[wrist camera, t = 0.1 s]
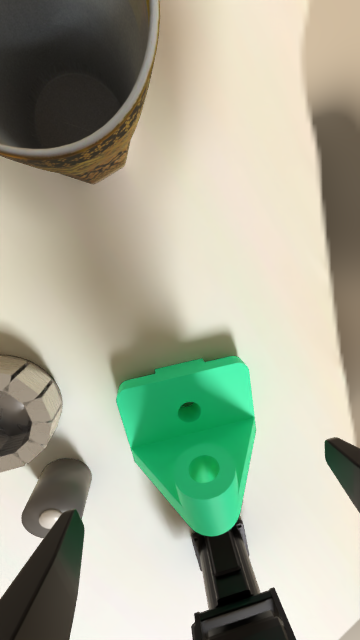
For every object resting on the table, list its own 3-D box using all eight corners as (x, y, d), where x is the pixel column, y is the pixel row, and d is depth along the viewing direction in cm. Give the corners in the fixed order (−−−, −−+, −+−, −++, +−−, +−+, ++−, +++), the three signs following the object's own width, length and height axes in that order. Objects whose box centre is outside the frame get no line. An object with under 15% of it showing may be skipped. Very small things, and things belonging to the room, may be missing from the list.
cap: (97, 488, 26) (88, 531, 22) (51, 501, 26) (33, 547, 22) (83, 452, 24) (70, 491, 20) (33, 465, 24) (10, 508, 20)
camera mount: (237, 349, 24) (300, 416, 14) (245, 413, 26) (305, 510, 16) (117, 377, 23) (93, 469, 13) (136, 440, 25) (128, 561, 15)
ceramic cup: (168, 82, 17) (194, -135, 8) (136, 224, 19) (125, 194, 10) (-34, -6, 15) (-370, -488, 5) (-45, 168, 17) (-294, 56, 7)
